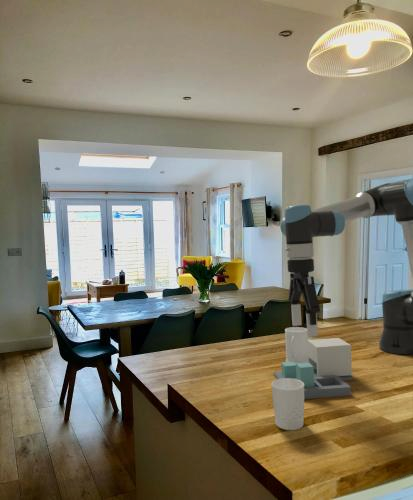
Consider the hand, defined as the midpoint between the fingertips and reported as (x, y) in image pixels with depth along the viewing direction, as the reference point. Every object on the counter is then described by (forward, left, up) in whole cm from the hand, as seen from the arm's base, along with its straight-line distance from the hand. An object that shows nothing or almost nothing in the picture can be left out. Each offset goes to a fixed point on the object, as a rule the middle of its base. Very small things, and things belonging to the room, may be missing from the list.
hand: (304, 330), depth 115 cm
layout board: (-6, -11, -18) cm, 22 cm away
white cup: (+11, +19, -18) cm, 28 cm away
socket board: (-3, 0, -18) cm, 18 cm away
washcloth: (-16, -45, -19) cm, 52 cm away
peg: (0, 0, -18) cm, 18 cm away
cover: (-11, -11, -17) cm, 23 cm away
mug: (-5, -26, -18) cm, 32 cm away
